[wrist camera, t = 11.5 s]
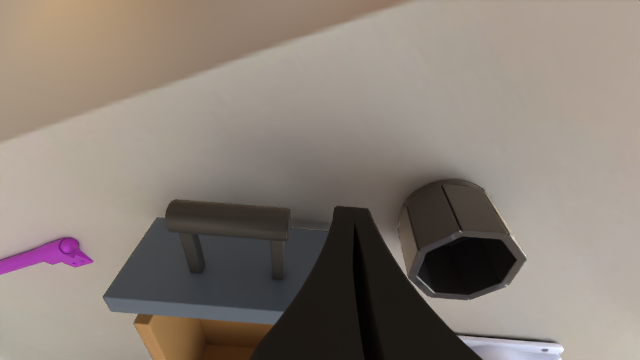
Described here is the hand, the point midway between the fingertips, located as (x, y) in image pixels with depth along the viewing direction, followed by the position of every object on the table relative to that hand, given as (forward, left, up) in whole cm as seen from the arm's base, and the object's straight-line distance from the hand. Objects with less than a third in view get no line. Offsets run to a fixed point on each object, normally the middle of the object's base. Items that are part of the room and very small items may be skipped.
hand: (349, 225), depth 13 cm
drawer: (+5, +9, -4) cm, 11 cm away
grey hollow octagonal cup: (-6, +3, -4) cm, 8 cm away
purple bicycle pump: (+24, +12, -5) cm, 27 cm away
